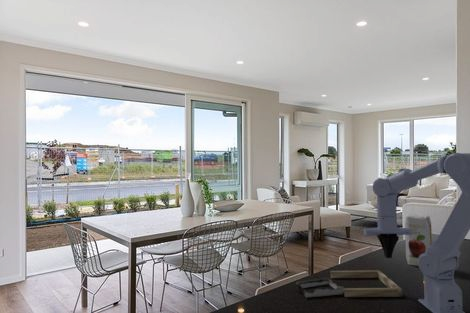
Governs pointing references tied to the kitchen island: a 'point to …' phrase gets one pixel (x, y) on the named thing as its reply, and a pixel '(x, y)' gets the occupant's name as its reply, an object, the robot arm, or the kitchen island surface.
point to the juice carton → (417, 237)
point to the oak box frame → (391, 291)
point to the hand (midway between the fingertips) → (388, 257)
